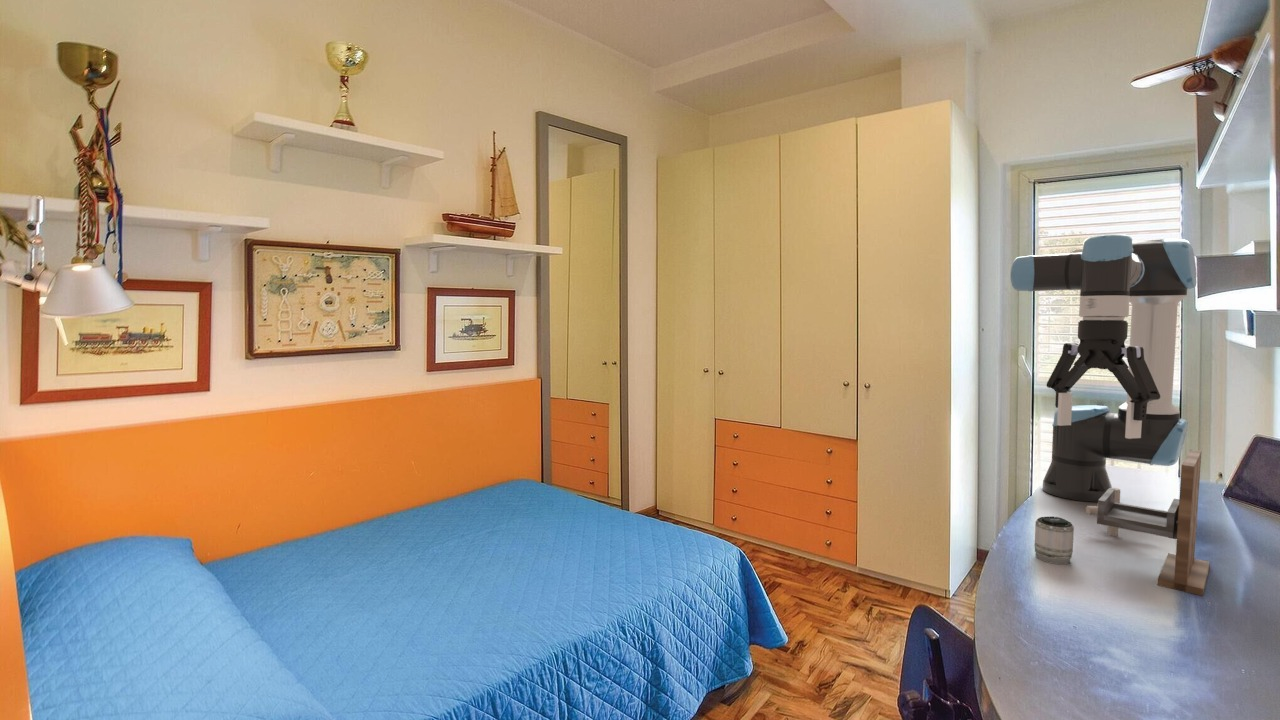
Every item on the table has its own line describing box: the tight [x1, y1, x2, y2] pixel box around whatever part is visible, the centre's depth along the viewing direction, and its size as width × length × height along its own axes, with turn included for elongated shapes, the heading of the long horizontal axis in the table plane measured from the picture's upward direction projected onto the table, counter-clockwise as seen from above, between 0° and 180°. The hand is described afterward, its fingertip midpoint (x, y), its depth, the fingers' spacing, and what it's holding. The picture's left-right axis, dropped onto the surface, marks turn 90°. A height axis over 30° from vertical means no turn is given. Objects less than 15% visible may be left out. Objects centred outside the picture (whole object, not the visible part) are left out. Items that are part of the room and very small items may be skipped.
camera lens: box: [1034, 516, 1075, 565], centre depth 123 cm, size 6×6×8 cm
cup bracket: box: [1096, 449, 1211, 596], centre depth 117 cm, size 16×16×22 cm
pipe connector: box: [1085, 487, 1121, 537], centre depth 135 cm, size 10×10×10 cm
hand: (1096, 431), depth 119 cm, fingers open, 13 cm apart
